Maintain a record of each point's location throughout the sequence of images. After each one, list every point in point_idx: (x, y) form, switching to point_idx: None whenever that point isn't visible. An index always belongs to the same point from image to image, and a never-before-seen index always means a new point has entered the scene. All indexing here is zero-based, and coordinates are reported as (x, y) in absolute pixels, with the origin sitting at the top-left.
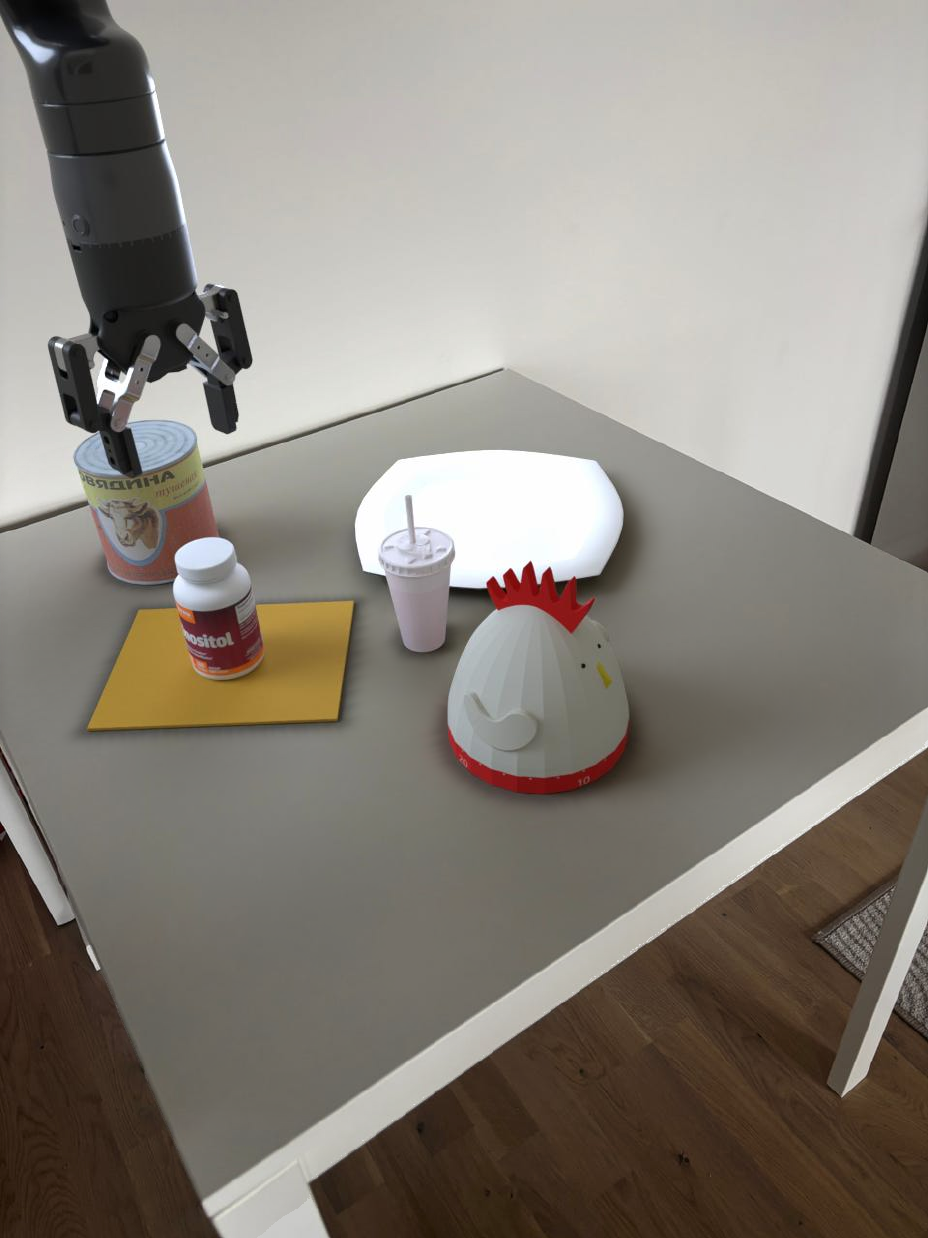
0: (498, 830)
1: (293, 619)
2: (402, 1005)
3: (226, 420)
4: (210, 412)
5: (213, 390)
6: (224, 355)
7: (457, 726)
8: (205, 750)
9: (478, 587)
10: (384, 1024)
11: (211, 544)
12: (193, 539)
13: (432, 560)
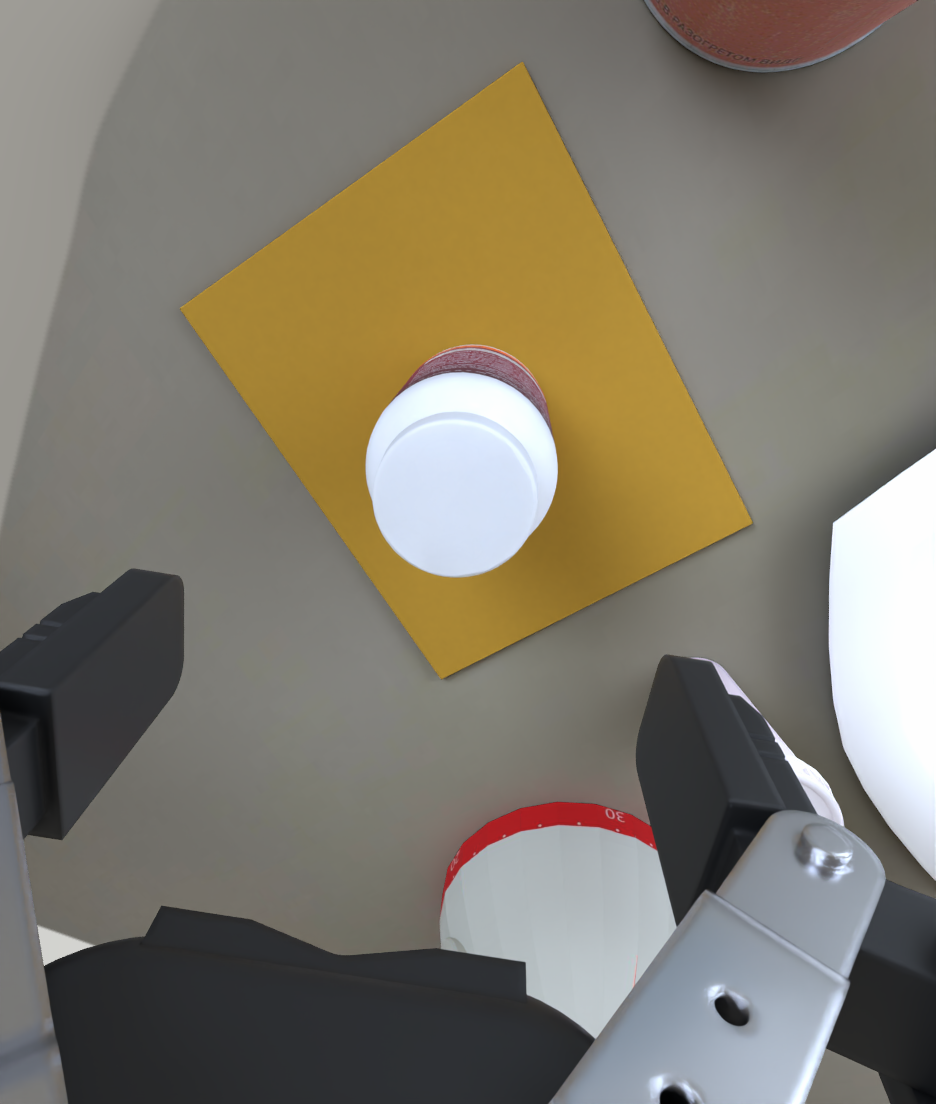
0: (383, 922)
1: (645, 449)
2: (146, 930)
3: (648, 792)
4: (677, 704)
5: (692, 860)
6: (933, 1018)
7: (462, 893)
8: (276, 535)
9: (845, 748)
10: (121, 925)
11: (496, 491)
12: (783, 40)
13: None
